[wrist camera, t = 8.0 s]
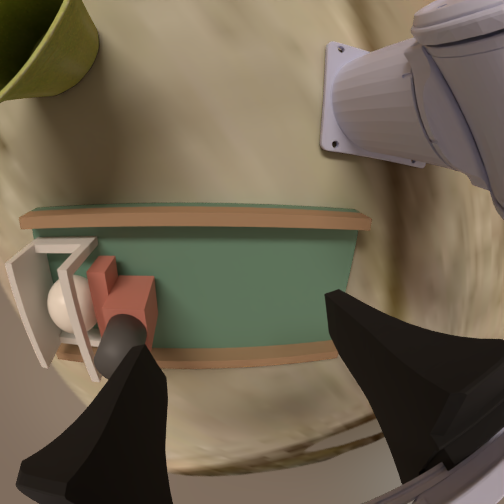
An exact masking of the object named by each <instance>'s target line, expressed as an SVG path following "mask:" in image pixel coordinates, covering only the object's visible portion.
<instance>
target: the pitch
mask: <svg viewBox="0 0 504 504" xmlns="http://www.w3.org/2000/svg"><path fill="white" fill-rule="evenodd" d="M19 221H20V228H21V229H32V230H33V237H34V239H36V238H37V237H66V236H97V239H98V245H97V247H96V248H95V249H94V250H93V251H92V252H91V254H90V255H89V256H88V257H87V258H86V259H85V261H84V262H83V263H82V264H81V266H80V267H79V268H78V269H77V270H76V272H75V273H74V274H73V275H79V276H82V277H85V278H86V279H87V273H86V272H87V271H88V269H89V268H90V267H91V265H92V264H93V263H94V261H95V260H96V259H97V257H98V256H115V257H116V265H117V272H118V276H119V275H124V276H154V278H155V288H156V298H157V307H158V318H157V323H156V328H155V333H154V338H153V344H152V349H151V351H150V353H151V354H152V356H153V357H154V359H155V361H156V362H157V364H158V365H159V367H160V368H179V369H203V368H237V367H255V366H269V365H281V364H291V363H300V362H309V361H317V360H325V359H332V358H337V356H338V351H337V349H336V347H335V345H334V343H333V341H332V339H331V337H330V335H329V330H328V321H327V312H326V304H325V296H324V294H326V293H329V292H332V291H334V290H337V289H340V290H342V291H343V292H345V291H346V287H347V283H348V278H349V274H350V269H351V265H352V260H353V255H354V250H355V245H356V240H357V235H358V230H370V228H371V222H372V219H371V218H369V217H368V216H366V215H364V214H362V213H360V212H359V211H357V210H355V209H343V208H328V207H311V206H292V205H269V204H237V203H126V204H95V205H74V206H56V207H41V208H35V209H33V210H32V211H30V212H28V213H26V214H25V215H23V216H21V217H19ZM71 254H72V253H47V257H48V262H49V267H50V272H51V276H52V280H53V284H54V283H55V282H56V281H57V280H58V279H59V277H58V272H57V269H58V268H59V267H60V266H61V265H62V264H63V263H64V262H65V261H66V259H67V258H68V257H69V256H70V255H71ZM92 328H96V329H99V327H98V323H96V324H95V325H94V327H92ZM91 347H92V350H93V353H94V356H95V354H96V351H97V349H98V347H95V346H91ZM56 354H57V357H58V359H62V360H69V361H76V362H84V360H83V357H82V355H81V352H80V349H79V346H78V345H75V344H66V343H61V344H60V346H59V348H58V350H57V352H56Z"/></svg>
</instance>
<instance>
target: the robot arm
mask: <svg viewBox="0 0 504 504" xmlns="http://www.w3.org/2000/svg"><path fill="white" fill-rule="evenodd" d="M411 33H412V34H413V36H414V37H413V38H410V39H407V40H404V41H401V42H398V43H395V44H392V45H389V46H387V47H384V48H381V49H378V50H376V51H373V52H368V51H365V50H362V49H358V48H355V47H352V46H348V45H345V44H341V43H338V42H333V41H332V42H329V43H328V44H327V45H326V56H325V77H324V95H323V109H322V122H321V134H320V146H321V148H322V149H323V150H326V151H333V152H340V153H346V154H352V155H358V156H364V157H370V158H375V159H381V160H386V161H391V162H395V163H400V164H405V165H409V166H414V167H418V168H424V167H425V165H426V163H428V164H433V165H437V166H441V167H445V168H449V169H452V170H456V171H460V172H462V173H464V174H466V175H467V176H468V178H469V179H470V181H471V183H472V185H474V186H477V187H480V188H483V189H486V190H489V191H490V194H491V197H492V201H493V204H494V206H495V208H496V210H497V212H498V214H499V215H500V216H501V218H502V219H503V220H504V0H436V1H434V2H432V3H430V4H428V5H426V6H425V7H423V8H421V9H420V10H418V11H417V12H416V13H415V14H414V21H413V26H412V28H411ZM338 47H339V48H341V49H342V53H341V52H339V50H338ZM333 141H335V142H336V144H337V145H336V147H335V148H333V146H332V142H333ZM411 160H413V161H412V162H411ZM324 296H325V304H326V312H327V321H328V330H329V335H330V337H331V339H332V341H333V343H334V345H335V347H336V349H337V351H338V353H339V355H340V357H341V358H342V360H343V361H344V363H345V364H346V366H347V368H348V369H349V371H350V372H351V374H352V375H353V377H354V378H355V380H356V381H357V383H358V385H359V386H360V388H361V389H362V391H363V392H364V394H365V396H366V398H367V399H368V401H369V403H370V405H371V407H372V409H373V411H374V414H375V416H376V418H377V420H378V422H379V424H380V427H381V429H382V431H383V434H384V436H385V438H386V441H387V443H388V445H389V448H390V451H391V453H392V456H393V459H394V462H395V464H396V467H397V470H398V473H399V476H400V479H401V483H402V485H401V486H400V487H397V488H395V489H393V490H391V491H389V492H387V493H385V494H383V495H381V496H379V497H376V498H374V499H372V500H370V501H367V502H365V503H362V504H407V503H409V502H411V501H413V500H414V499H415V500H414V501H413V503H412V504H496V503H497V502H499V501H500V500H501V499H502V497H504V340H503V339H477V338H468V337H460V336H454V335H448V334H444V333H439V332H435V331H431V330H428V329H424V328H421V327H418V326H415V325H412V324H409V323H406V322H404V321H401V320H399V319H397V318H394V317H392V316H390V315H387V314H385V313H383V312H381V311H379V310H377V309H375V308H373V307H371V306H369V305H367V304H365V303H363V302H362V301H360V300H358V299H356V298H354V297H352V296H351V295H349V294H347V293H345V292H343V291H342V290H340V289H337V290H334V291H332V292H329V293H326V294H324ZM167 406H168V393H167V379H166V376H165V375H164V373H163V372H162V370H161V369H160V367H159V365H158V364H157V362H156V361H155V359H154V357H153V356H152V354H151V353H150V351H149V349H148V348H147V346H146V344H143V345H138V346H134V347H132V348H131V349H130V350H129V352H128V353H127V354H126V356H125V357H124V358H123V360H122V361H121V363H120V364H119V366H118V367H117V368H116V370H115V371H114V373H113V374H112V376H111V377H110V379H109V380H108V381H107V383H106V384H105V386H104V387H103V388H102V389H101V391H100V392H99V393H98V395H97V396H96V397H95V399H94V400H93V401H92V403H91V404H90V405H89V406H88V407H87V409H86V410H85V411H84V412H83V413H82V414H81V415H80V416H79V417H78V419H77V420H76V421H75V422H74V423H73V424H72V425H70V426H69V427H68V428H67V429H66V430H65V431H64V432H63V433H62V434H61V435H60V436H58V437H57V438H56V439H55V440H54V441H52V442H51V443H50V444H48V445H47V446H46V447H44V448H43V449H41V450H40V451H38V452H37V453H35V454H33V455H32V456H30V457H28V458H27V459H25V460H23V461H22V463H21V466H20V470H19V474H18V478H17V481H16V487H17V488H18V489H19V491H21V492H22V493H23V494H25V495H26V496H28V497H29V498H31V499H32V500H34V501H36V502H37V503H39V504H173V502H172V497H171V493H170V487H169V480H168V474H167V465H166V454H165V441H166V422H167Z"/></svg>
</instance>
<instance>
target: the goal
mask: <svg viewBox="0 0 504 504" xmlns="http://www.w3.org/2000/svg"><path fill="white" fill-rule="evenodd" d="M97 245H98V239H97V236H66V237H37V238H36V239H34V240H33V241H32V242H30V243H29V244H28V245H27V246H25V247H24V248H23V249H22V250H20V251H19V252H18V253H17V254H15V255H14V256H13V257H12V258H10V259H9V260H8V261H7V262H6V263H5V267H6V271H7V274H8V278H9V282H10V285H11V289H12V292H13V295H14V298H15V301H16V304H17V307H18V310H19V313H20V316H21V319H22V321H23V324H24V327H25V329H26V332H27V334H28V337H29V339H30V342H31V344H32V346H33V349H34V351H35V353H36V355H37V357H38V360H39V362H40V364H41V366H42V367H44V368H49V366H50V364H51V362H52V360H53V358H54V356H55V354H56V352H57V350H58V348H59V346H60V344H61V343H66V344H75V345H78V346H79V349H80V352H81V355H82V357H83V360H84V363H85V365H86V368H87V370H88V373H89V375H90V378H91V380H92V381H94V382H100V380H101V377H102V375H101V374H100V373H99V372H98V371H97V369H96V367H95V365H94V353H93V350H92V347H91V346H95V347H98V346H99V343H100V341H101V334H100V331H99V329H96V328H91V329H90V330H89V331H86V327H85V324H84V320H83V317H82V313H81V309H80V305H79V301H78V297H77V293H76V288H75V284H74V279H73V274H74V273H75V272H76V270H77V269H78V268H79V267H80V266H81V264H82V263H83V262H84V261H85V259H86V258H87V257H88V256H89V255H90V254H91V252H92V251H93V250H94V249H95V248H96V247H97ZM47 253H72V254H71V255H70V256H69V257H68V258H67V259H66V261H65V262H64V263H63V264H62V265H61V266H60V267H59V268H58V269H57V272H58V277H59V281H60V285H61V289H62V293H63V297H64V301H65V305H66V308H67V312H68V315H69V319H70V322H71V325H72V328H73V331H74V334H72V333H68V332H65V331H63V330H62V329H60V328H59V327H58V326H57V325H56V324H55V323H54V322H53V320H52V318H51V317H50V314H49V311H48V306H47V300H48V294H49V291H50V289H51V287H52V286H53V280H52V276H51V272H50V267H49V262H48V257H47Z"/></svg>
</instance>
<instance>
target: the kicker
mask: <svg viewBox="0 0 504 504" xmlns="http://www.w3.org/2000/svg"><path fill="white" fill-rule="evenodd" d="M86 273H87V279H88V284H89V289H90V293H91V298H92V302H93V307H94V311H95V315H96V319H97V323H98V327H99V331H100V334H101V341H100V343H99V346H98V349H97V351H96V354H95V356H94V365H95V367H96V369H97V371H98V372H99V373H100V374H101V375H102V376H104V377H105V378H107V379H110V377H111V376H112V374H113V373H114V371H115V370H116V368H117V367H118V366H119V364H120V363H121V361H122V360H123V358H124V357H125V356H126V354H127V353H128V352H129V350H130V349H131V348H132V347H134V346H138V345H143V344H146V346H147V348H148V349H149V351H151V349H152V344H153V338H154V333H155V328H156V323H157V318H158V307H157V298H156V288H155V278H154V276H124V275H119V276H118V272H117V265H116V257H115V256H98V257H97V259H96V260H95V261H94V263H93V264H92V265H91V267H90V268H89V269H88V271H87V272H86Z"/></svg>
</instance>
